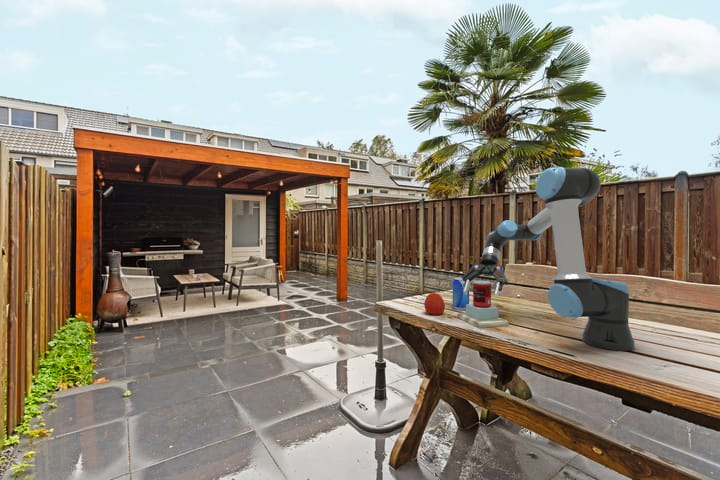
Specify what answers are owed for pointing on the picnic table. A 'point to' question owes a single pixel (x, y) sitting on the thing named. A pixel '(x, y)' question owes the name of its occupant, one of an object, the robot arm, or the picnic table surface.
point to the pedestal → (482, 312)
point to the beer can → (459, 294)
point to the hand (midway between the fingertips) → (480, 294)
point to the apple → (434, 304)
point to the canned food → (482, 294)
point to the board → (483, 321)
